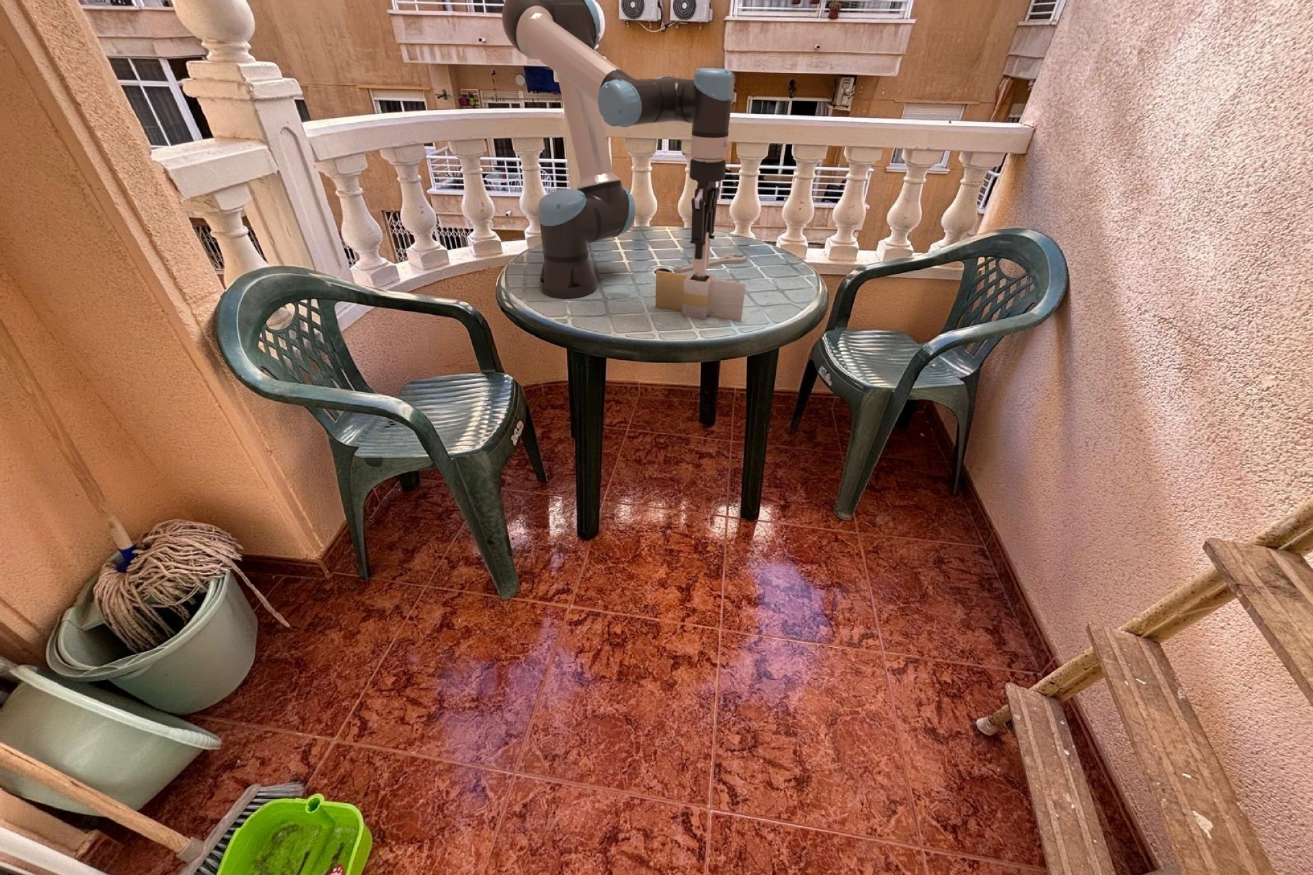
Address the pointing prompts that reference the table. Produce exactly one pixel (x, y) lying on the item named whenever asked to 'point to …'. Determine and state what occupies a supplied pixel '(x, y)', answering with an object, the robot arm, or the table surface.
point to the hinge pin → (702, 275)
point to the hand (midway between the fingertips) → (700, 269)
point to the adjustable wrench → (714, 262)
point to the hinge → (699, 296)
